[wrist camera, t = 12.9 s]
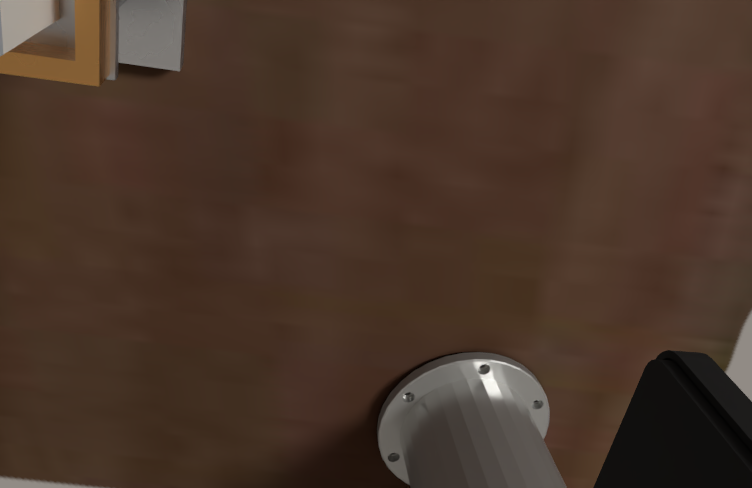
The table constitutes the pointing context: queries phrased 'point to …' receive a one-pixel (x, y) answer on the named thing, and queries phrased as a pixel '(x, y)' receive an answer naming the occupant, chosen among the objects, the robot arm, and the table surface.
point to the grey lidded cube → (24, 20)
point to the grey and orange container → (102, 41)
